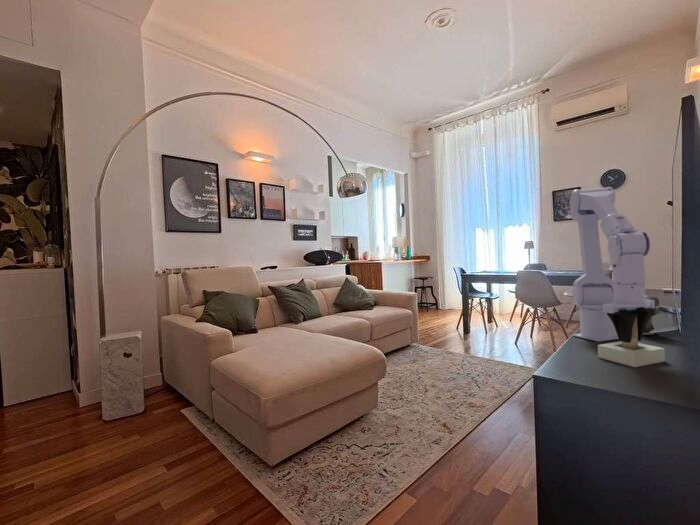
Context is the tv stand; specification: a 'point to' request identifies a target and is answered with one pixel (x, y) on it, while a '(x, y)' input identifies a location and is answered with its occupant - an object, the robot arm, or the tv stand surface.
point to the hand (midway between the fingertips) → (630, 340)
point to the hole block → (631, 354)
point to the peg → (634, 341)
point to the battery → (656, 311)
